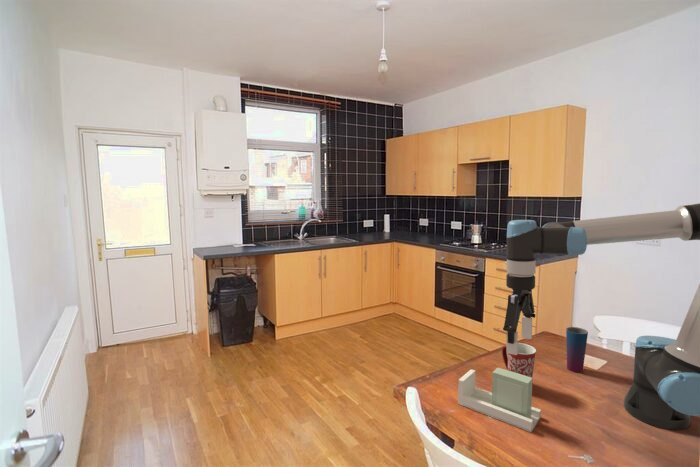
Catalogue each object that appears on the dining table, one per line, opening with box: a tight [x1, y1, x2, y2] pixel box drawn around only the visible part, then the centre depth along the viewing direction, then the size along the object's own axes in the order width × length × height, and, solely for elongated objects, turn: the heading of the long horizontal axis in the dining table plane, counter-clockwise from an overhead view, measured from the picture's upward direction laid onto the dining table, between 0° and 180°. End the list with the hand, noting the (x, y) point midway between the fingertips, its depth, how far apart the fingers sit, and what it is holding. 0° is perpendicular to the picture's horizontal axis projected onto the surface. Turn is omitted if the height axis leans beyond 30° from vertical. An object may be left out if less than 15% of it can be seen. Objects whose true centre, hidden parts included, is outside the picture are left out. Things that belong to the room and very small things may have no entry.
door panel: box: [491, 367, 534, 418], centre depth 111 cm, size 10×4×12 cm, turn 48°
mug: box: [501, 342, 537, 378], centre depth 129 cm, size 13×9×14 cm
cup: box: [565, 326, 589, 374], centre depth 138 cm, size 7×7×15 cm
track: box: [457, 369, 542, 433], centre depth 113 cm, size 22×9×8 cm, turn 48°
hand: (519, 345), depth 109 cm, fingers open, 13 cm apart
